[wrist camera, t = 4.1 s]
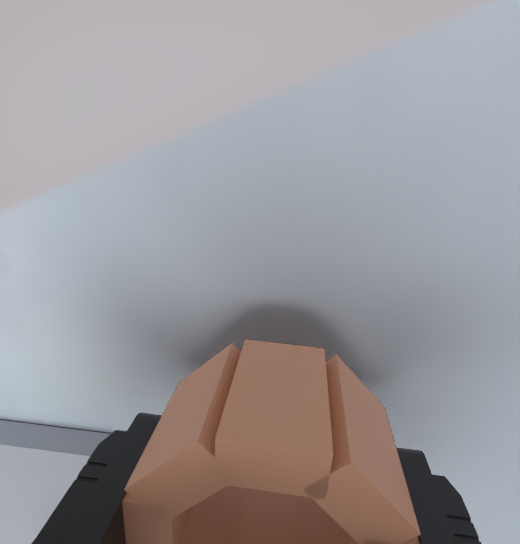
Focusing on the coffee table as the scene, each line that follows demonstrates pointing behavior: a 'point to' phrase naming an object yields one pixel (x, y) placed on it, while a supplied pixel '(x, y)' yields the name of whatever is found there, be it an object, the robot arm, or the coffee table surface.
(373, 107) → the coffee table surface
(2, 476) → the post block
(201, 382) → the ring
